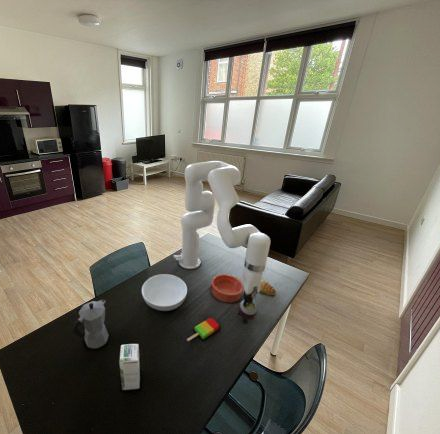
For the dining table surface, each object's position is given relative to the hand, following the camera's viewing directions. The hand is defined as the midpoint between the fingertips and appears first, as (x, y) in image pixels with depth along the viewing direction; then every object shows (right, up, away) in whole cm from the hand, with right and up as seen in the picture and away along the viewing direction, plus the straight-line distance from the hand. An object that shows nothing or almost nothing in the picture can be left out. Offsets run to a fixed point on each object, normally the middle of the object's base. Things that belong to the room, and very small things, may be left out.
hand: (247, 300), depth 99 cm
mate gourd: (0, -8, +4) cm, 9 cm away
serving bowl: (-34, -5, +13) cm, 37 cm away
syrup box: (-46, -20, -19) cm, 54 cm away
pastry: (+15, -1, +20) cm, 25 cm away
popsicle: (-20, -12, -3) cm, 23 cm away
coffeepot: (-62, -14, -6) cm, 64 cm away
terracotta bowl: (-4, -2, +18) cm, 19 cm away
